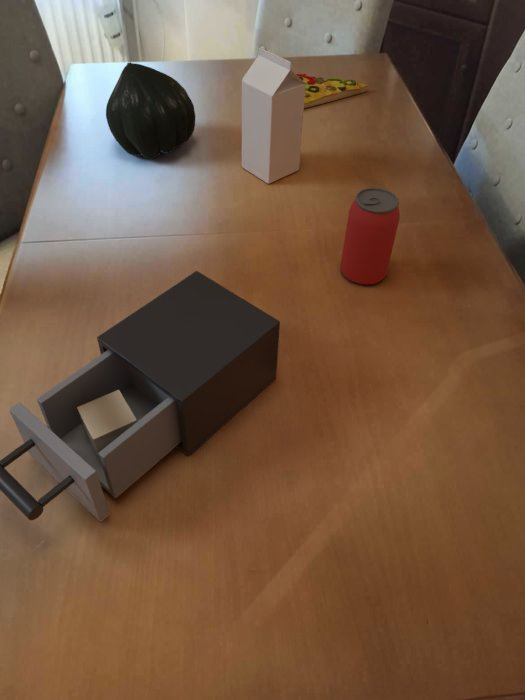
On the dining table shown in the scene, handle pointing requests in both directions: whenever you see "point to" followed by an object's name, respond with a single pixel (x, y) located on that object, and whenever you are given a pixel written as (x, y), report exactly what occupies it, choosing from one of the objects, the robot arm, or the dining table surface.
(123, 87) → the squash
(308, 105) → the pizza slice
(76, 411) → the drawer
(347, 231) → the beer can
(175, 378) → the cabinet
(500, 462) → the dining table surface
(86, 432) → the block
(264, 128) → the milk carton
